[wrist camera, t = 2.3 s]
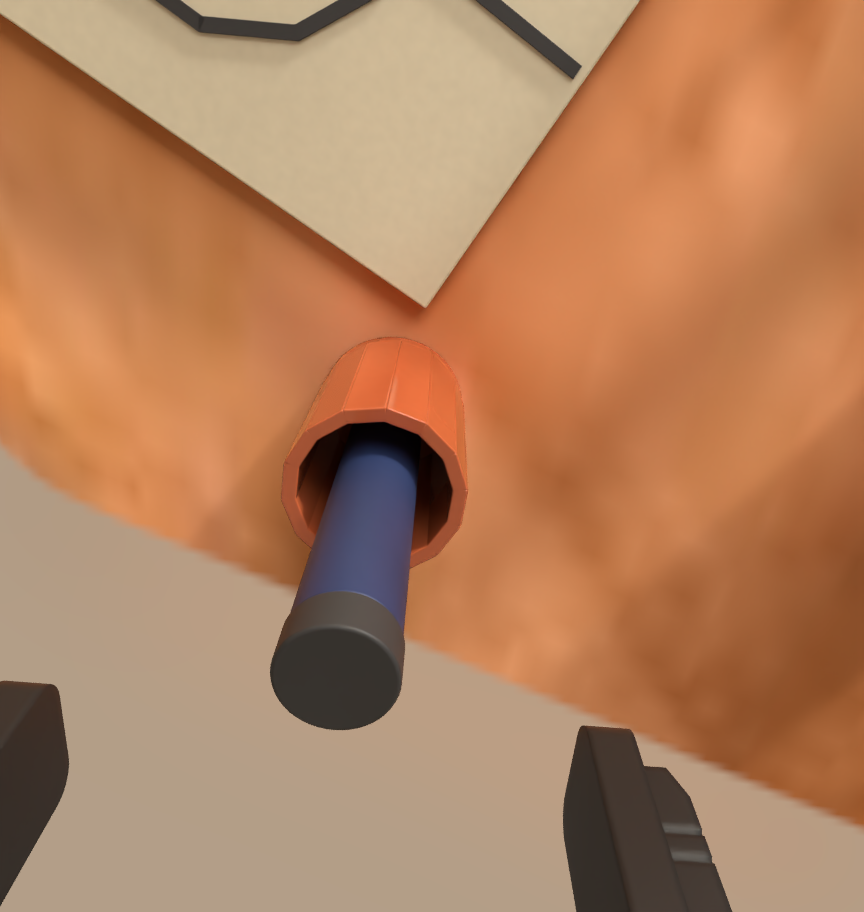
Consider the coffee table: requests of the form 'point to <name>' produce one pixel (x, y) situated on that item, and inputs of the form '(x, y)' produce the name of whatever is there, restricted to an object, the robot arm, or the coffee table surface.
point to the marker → (354, 588)
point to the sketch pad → (349, 103)
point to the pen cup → (400, 404)
